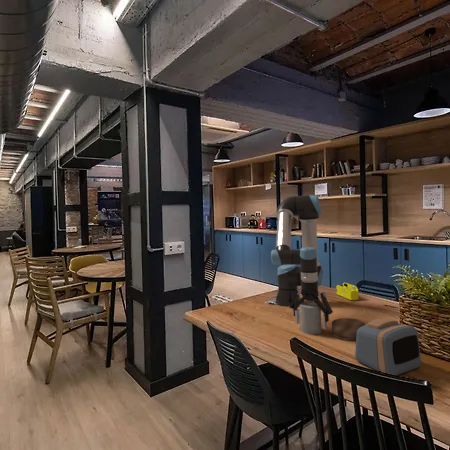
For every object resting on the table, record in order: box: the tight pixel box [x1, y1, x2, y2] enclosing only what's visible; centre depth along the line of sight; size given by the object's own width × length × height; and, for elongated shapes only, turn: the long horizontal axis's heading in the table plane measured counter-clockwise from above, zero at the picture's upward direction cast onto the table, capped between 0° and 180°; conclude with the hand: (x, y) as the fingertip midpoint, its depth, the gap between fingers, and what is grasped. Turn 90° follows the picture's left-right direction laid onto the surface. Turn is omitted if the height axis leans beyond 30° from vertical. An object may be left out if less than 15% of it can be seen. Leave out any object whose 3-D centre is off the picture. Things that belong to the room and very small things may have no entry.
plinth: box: [330, 317, 366, 342], centre depth 147 cm, size 15×15×5 cm
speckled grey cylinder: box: [299, 301, 323, 335], centre depth 153 cm, size 10×10×12 cm
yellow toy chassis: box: [335, 282, 359, 301], centre depth 206 cm, size 16×6×8 cm, turn 13°
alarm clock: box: [354, 317, 422, 376], centre depth 118 cm, size 16×16×16 cm
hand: (311, 325), depth 153 cm, fingers open, 13 cm apart
